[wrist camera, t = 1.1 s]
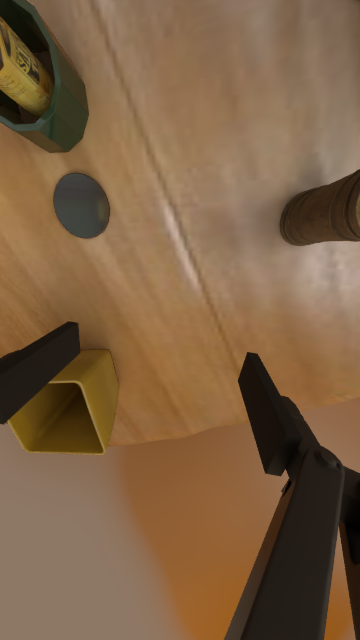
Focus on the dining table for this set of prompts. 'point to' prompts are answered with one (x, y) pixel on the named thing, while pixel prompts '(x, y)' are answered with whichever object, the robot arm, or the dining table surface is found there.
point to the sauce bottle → (23, 74)
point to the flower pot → (72, 409)
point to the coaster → (81, 205)
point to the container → (324, 213)
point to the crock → (68, 93)
